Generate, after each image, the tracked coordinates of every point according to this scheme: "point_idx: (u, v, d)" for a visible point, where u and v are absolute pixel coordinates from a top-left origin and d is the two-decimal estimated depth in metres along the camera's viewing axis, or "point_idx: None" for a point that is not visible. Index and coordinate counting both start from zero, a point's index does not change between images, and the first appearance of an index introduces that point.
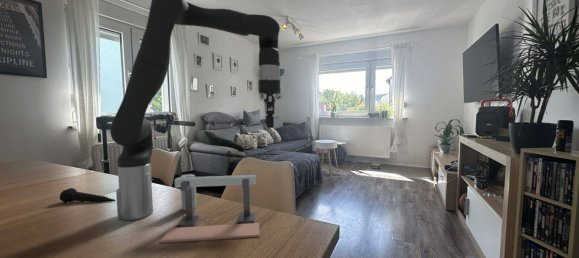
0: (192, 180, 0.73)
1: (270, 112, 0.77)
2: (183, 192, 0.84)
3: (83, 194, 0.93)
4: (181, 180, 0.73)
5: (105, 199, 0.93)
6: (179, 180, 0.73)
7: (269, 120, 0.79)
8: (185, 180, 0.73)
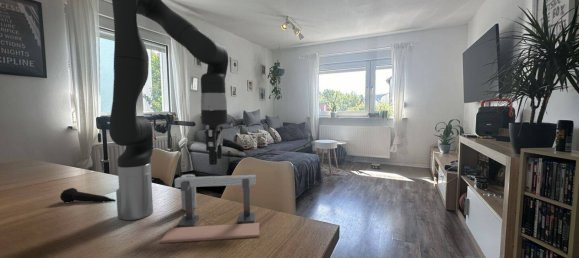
0: (192, 180, 0.73)
1: (210, 148, 0.67)
2: (183, 192, 0.84)
3: (83, 194, 0.93)
4: (181, 180, 0.73)
5: (105, 199, 0.93)
6: (179, 180, 0.73)
7: (211, 157, 0.69)
8: (185, 180, 0.73)
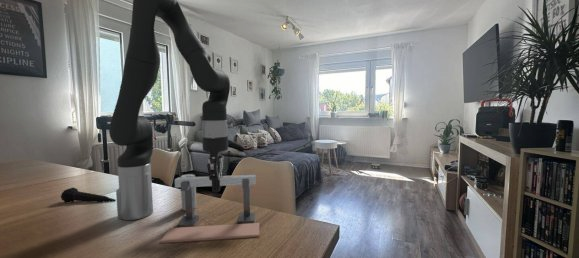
0: (192, 180, 0.73)
1: (213, 178, 0.71)
2: (183, 192, 0.84)
3: (84, 194, 0.93)
4: (181, 180, 0.73)
5: (106, 199, 0.93)
6: (179, 180, 0.73)
7: (214, 185, 0.73)
8: (185, 180, 0.73)
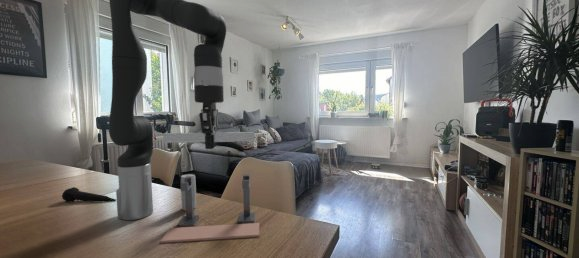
0: (183, 135, 0.65)
1: (206, 130, 0.63)
2: (183, 192, 0.84)
3: (85, 193, 0.93)
4: (171, 135, 0.65)
5: (106, 199, 0.93)
6: (168, 135, 0.65)
7: (207, 140, 0.65)
8: (175, 135, 0.65)
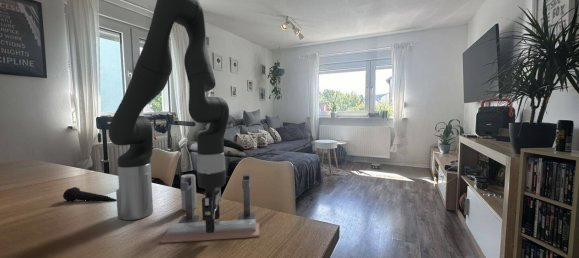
0: (187, 228, 0.67)
1: (207, 218, 0.62)
2: (183, 192, 0.84)
3: (86, 193, 0.93)
4: (174, 228, 0.67)
5: (107, 199, 0.93)
6: (172, 228, 0.67)
7: (208, 225, 0.64)
8: (179, 228, 0.67)
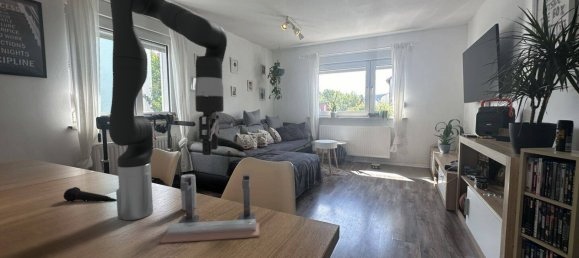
0: (187, 228, 0.67)
1: (204, 137, 0.62)
2: (183, 192, 0.84)
3: (86, 193, 0.94)
4: (174, 228, 0.67)
5: (107, 199, 0.94)
6: (172, 228, 0.67)
7: (204, 146, 0.64)
8: (179, 228, 0.67)
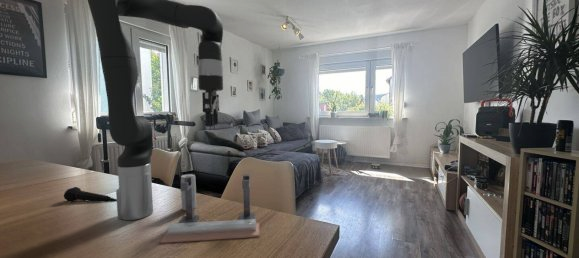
0: (187, 228, 0.67)
1: (206, 109, 0.72)
2: (183, 192, 0.84)
3: (86, 193, 0.94)
4: (174, 228, 0.67)
5: (107, 198, 0.94)
6: (172, 228, 0.67)
7: (207, 118, 0.74)
8: (179, 228, 0.67)
